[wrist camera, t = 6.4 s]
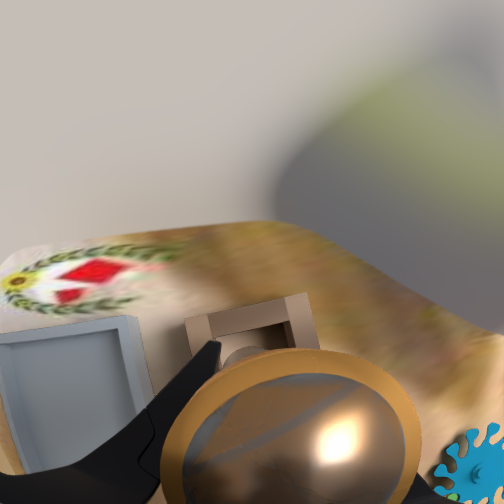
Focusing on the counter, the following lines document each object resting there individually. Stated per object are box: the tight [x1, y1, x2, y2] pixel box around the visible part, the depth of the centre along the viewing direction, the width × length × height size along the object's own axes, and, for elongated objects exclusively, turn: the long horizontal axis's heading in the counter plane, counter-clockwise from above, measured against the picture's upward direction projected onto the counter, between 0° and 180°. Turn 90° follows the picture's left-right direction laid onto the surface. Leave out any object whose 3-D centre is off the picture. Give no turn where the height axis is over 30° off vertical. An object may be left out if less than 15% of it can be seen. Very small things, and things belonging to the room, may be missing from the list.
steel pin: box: [160, 346, 422, 504], centre depth 9 cm, size 4×4×12 cm
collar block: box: [184, 292, 320, 372], centre depth 19 cm, size 8×8×3 cm
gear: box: [434, 423, 504, 504], centre depth 16 cm, size 11×6×10 cm
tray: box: [0, 315, 154, 474], centre depth 17 cm, size 14×14×2 cm
